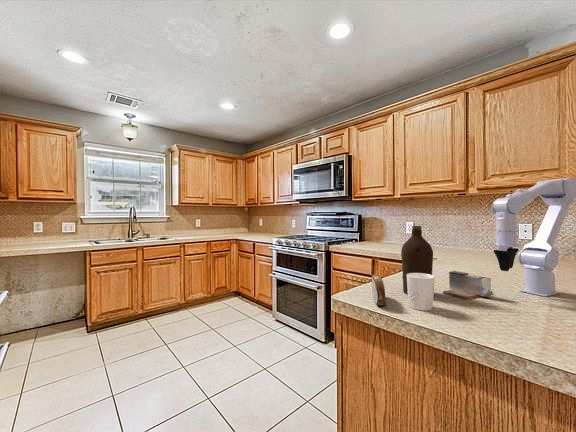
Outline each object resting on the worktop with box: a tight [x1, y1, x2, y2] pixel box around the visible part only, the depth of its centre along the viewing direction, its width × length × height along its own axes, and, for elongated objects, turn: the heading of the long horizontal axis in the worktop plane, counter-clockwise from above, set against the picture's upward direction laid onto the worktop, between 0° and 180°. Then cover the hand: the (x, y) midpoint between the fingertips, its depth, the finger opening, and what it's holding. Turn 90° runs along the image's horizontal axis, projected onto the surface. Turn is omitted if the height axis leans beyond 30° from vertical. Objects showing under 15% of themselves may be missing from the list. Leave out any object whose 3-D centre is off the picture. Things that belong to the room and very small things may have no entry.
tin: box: [370, 274, 387, 307], centre depth 89 cm, size 15×3×8 cm, turn 168°
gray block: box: [448, 270, 492, 298], centre depth 96 cm, size 4×13×6 cm, turn 31°
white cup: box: [407, 273, 435, 312], centre depth 83 cm, size 8×8×10 cm
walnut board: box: [442, 289, 493, 300], centre depth 97 cm, size 16×8×1 cm, turn 115°
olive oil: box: [400, 225, 434, 295], centre depth 98 cm, size 11×11×25 cm
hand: (506, 269), depth 95 cm, fingers open, 7 cm apart
